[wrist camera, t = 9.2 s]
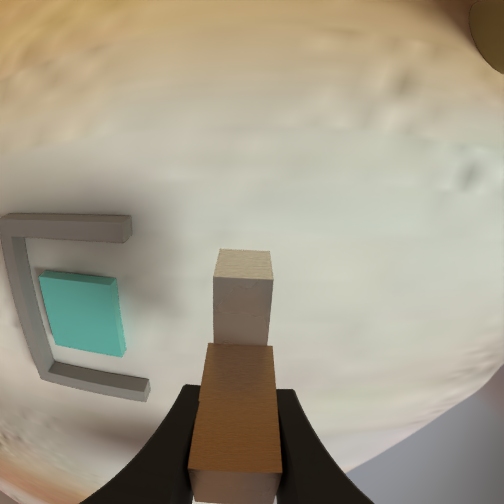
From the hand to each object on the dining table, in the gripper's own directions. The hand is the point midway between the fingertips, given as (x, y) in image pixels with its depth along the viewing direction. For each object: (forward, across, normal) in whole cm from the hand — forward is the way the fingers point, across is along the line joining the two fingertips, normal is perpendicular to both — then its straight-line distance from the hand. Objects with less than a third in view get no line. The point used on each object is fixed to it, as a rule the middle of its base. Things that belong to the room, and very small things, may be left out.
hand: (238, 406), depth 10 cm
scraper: (+4, 0, 0) cm, 5 cm away
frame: (+10, +12, +4) cm, 16 cm away
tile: (+11, +12, +4) cm, 16 cm away
